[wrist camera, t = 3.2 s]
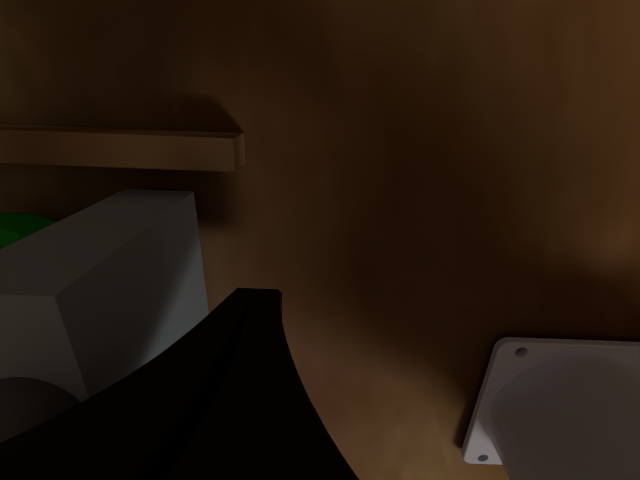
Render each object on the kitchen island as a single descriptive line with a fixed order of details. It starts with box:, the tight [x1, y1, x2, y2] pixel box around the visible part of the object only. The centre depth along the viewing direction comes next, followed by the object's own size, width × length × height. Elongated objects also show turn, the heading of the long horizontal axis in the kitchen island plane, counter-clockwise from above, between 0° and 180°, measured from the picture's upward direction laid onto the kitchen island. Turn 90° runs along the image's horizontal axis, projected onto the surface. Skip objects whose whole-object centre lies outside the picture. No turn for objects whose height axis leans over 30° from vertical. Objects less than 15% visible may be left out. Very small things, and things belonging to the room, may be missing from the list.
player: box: [0, 189, 209, 443], centre depth 9 cm, size 2×6×8 cm, turn 178°
